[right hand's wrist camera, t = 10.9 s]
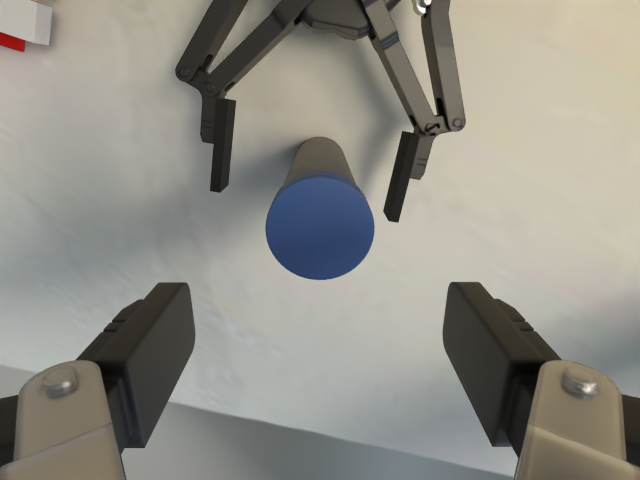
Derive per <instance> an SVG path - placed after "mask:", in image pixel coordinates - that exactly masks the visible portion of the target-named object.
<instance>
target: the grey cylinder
mask: <svg viewBox="0 0 640 480" xmlns="http://www.w3.org/2000/svg"><path fill="white" fill-rule="evenodd" d="M315 170H325V171H331V172H335V173H338V174H341V175H343V176H345V177H346V178H348V179H350V180H351V181H352V182H354V183H355V181H354V178H353V176H352V173H351V171H350V168H349V166H348V163H347V161H346V158H345V156H344V154H343V151H342V149H341V148H340V146H339V145H338V144H337V143H336V142H334V141H333V140H331V139H329V138H325V137H314V138H311V139H309V140H307V141H306V142H304V143H303V144H302V145H301V146H300V148H299V149H298V151H297V153H296V156H295V158H294V161H293V163H292V166H291V168H290V171H289V173H288V176H287V178H286V181H285V183H287V182H288V181H289V180H290V179H292V178H294V177H295V176H297V175H299V174H302V173H305V172H308V171H315ZM285 183H284V184H285ZM355 184H356V183H355Z"/></svg>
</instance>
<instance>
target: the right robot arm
mask: <svg viewBox="0 0 640 480" xmlns="http://www.w3.org/2000/svg"><path fill="white" fill-rule="evenodd" d="M194 343H195V325H194V318H193V310H192V302H191V295H190V289H189V286H188V284H187V283H158V284H157V285H156V286H155V287H154V288H153V289H152V291H151V292H150V293H149V294H148V295H147V296H146V298H145V299H144V300H137V301H136V302H134V303H132V304H130V305H129V306H127V307H125V308H124V309H122V310H121V311H120V312H119V314H118V315H117V316H116V317H115V318H114V319H113V320H112V323H109V324H108V325H107V327H106V328H105V329H104V331H103V332H101V333H100V334H99V335H98V336H97V337H96V338H95V340H94V341H93V342H92V343H91V344H90V345H89V346H88V347H87V348H86V349H85V350H84V351H83V352H82V354H81V355H80V356H79V357H78V358H77V359H76V360H75V361H69V362H64V363H61V364H58V365H55V366H52V367H50V368H47V369H45V370H43V371H41V372H40V373H38V374H36V375H35V376H33V377H32V378H31V379H30V380H28V381H27V382H26V383H25V384H24V386H23V387H22V388H21V390H20V392H19V395H15V396H11V397H6V398H1V399H0V480H126V475H125V471H124V466H123V462H122V458H121V454H122V452H123V450H124V448H145V446H146V444H147V442H148V440H149V438H150V436H151V434H152V432H153V430H154V428H155V426H156V424H157V422H158V420H159V418H160V416H161V414H162V412H163V410H164V408H165V406H166V404H167V402H168V400H169V398H170V396H171V394H172V392H173V390H174V388H175V386H176V384H177V382H178V380H179V378H180V376H181V374H182V372H183V370H184V368H185V366H186V364H187V362H188V360H189V358H190V356H191V354H192V351H193V348H194ZM443 343H444V348H445V351H446V353H447V355H448V357H449V359H450V361H451V363H452V365H453V367H454V369H455V371H456V373H457V375H458V377H459V379H460V381H461V384H462V386H463V388H464V390H465V392H466V394H467V396H468V398H469V400H470V402H471V404H472V406H473V408H474V410H475V412H476V414H477V416H478V418H479V420H480V422H481V424H482V426H483V428H484V430H485V432H486V434H487V436H488V438H489V441H490V443H491V445H492V447H513V449H514V451H515V453H516V455H517V456H518V462H517V466H516V471H515V475H514V480H640V398H636V397H632V396H627V395H622V394H621V392H620V390H619V388H618V387H617V386H616V384H615V383H614V382H613V381H612V380H610V379H609V378H608V377H607V376H605V375H604V374H602V373H600V372H599V371H597V370H595V369H593V368H590V367H588V366H585V365H582V364H579V363H576V362H571V361H564V360H562V359H561V358H560V357H559V356H558V355H557V354H556V353H555V352H554V351H553V350H552V348H551V347H550V346H549V345H548V344H547V343H546V342H545V341H544V340H543V339H542V338H541V336H540V335H539V334H538V333H537V332H536V331H534V329H533V328H532V327H531V326H530V324H529V323H528V322H525V319H524V318H523V317H522V316H521V315H520V314H519V312H518V311H517V310H516V309H515V308H513V307H512V306H510V305H508V304H506V303H505V302H503V301H501V300H500V299H493V298H492V296H491V295H490V294H489V293H488V292H487V291H486V289H485V288H484V287H483V286H482V285H481V284H480V283H479V282H451V283H450V285H449V288H448V293H447V301H446V309H445V316H444V324H443Z"/></svg>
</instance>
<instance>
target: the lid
mask: <svg viewBox="0 0 640 480" xmlns="http://www.w3.org/2000/svg"><path fill="white" fill-rule="evenodd" d="M266 237H267V242H268V245H269V247H270V250H271V251H272V253H273V255H274V256H275V258H276V259H277V260H278V262H279V263H280V264H281V265H282V266H284V267H285V268H286V269H287V270H289V271H290V272H292V273H294V274H296V275H298V276H301V277H304V278H308V279H314V280H326V279H332V278H336V277H339V276H342V275H344V274H346V273H348V272H350V271H351V270H353V269H354V268H355V267H356V266H358V265H359V264H360V263H361V262H362V260H363V259H364V258H365V256H366V255H367V253H368V252H369V249H370V247H371V245H372V242H373V237H374V219H373V215H372V212H371V209H370V207H369V205H368V202H367V200H366V198H365V196H364V194H363V193H362V191H361V190H360V189H359V187H358V186H357V185H356V184H355V183H354V182H352V181H351V180H350V179H348V178H346V177H345V176H343V175H341V174H338V173H335V172H331V171H325V170H315V171H308V172H305V173H302V174H299V175H297V176H295V177H294V178H292V179H290V180H289V181H288V182H287V183H285V184H284V185H283V186H282V187H281V189H280V190H279V191H278V193H277V194H276V196H275V198H274V200H273V202H272V205H271V207H270V209H269V212H268V215H267V219H266Z"/></svg>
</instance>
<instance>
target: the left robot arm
mask: <svg viewBox="0 0 640 480" xmlns="http://www.w3.org/2000/svg"><path fill="white" fill-rule="evenodd" d="M400 1H401V0H282V1H281V2H280V3H279V4H278V5H277V6H276V7H275V8H274V9H273V11H272V13H271V14H270V15H269V16H268V17H267V18H266V19H265V20H264V21H263V22H262V23H261V24H260V25H259V26H258V27H257V28H256V29H255V30H254V31H253V32H252V33H251V34H250V35H249V36H248V37H247V38H246V39H245V40H244V41H243V42H242V43H241V44H240V45H239V46H238V47H237V48H236V49H235V50H234V51H233V52H232V53H231V54H230V55H229V56H228V57H227V58H226V59H225V60H224V61H223V62H222V63H221V64H220V65H219V66H218V67H217V68H216V69H215V70H214V71H213V72H212V73H211V74H209V73H208V72H207V70H208V68H209V67H210V65H211V63H212V62H213V60H214V58H215V56H216V55H217V53H218V51H219V50H220V48H221V46H222V44H223V43H224V41H225V39H226V38H227V36H228V34H229V32H230V31H231V29H232V27H233V26H234V24H235V22H236V20H237V19H238V17H239V15H240V14H241V12H242V10H243V8H244V7H245V5H246V3H247V2H248V0H213V2H212V3H211V5H210V7H209V9H208V11H207V12H206V14H205V16H204V18H203V20H202V21H201V23H200V25H199V27H198V29H197V30H196V32H195V34H194V36H193V37H192V39H191V41H190V43H189V45H188V46H187V48H186V50H185V52H184V54H183V55H182V57H181V59H180V61H179V63H178V64H177V66H176V69H175V72H176V76H177V77H178V79H179V80H181V81H183V82H186V83H188V84H190V85H191V86H193V87H195V88H196V89H198V90H199V92H200V93H201V95H202V116H201V131H200V135H201V138H202V141H203V142H206V143H212V144H214V146H213V159H212V172H211V185H210V191H213V192H219V193H220V192H221V191H222V190H223V189H224V188H225V187H227V186H228V182H229V171H230V160H231V150H232V139H233V128H234V117H235V107H236V101H235V100H229V99H225V95H227V94H226V93H227V92H228V91H229V90H230V89H231V88H232V87H233V86H234V85H235V84H236V83H237V82H238V81H239V80H240V79H241V78H242V77H243V76H245V75H246V74H247V73H248V72H249V71H250V70H251V69H252V68H253V67H254V66H255V65H256V64H257V63H258V62H259V61H260V60H261V59H262V58H263V57H264V56H265V55H266V54H267V53H268V52H270V51H271V50H272V49H273V48H274V47H275V46H276V45H277V44H278V43H279V42H280V41H281V40H282V39H283V38H284V37H285V36H286V35H288V34H289V33H291V32H292V31H293V30H294V29H295V28H296V27H297V26H298V25H299V24H300V23H301V22H302V23H303V24H304V25H305V26H306V27H307V28H308V29H310V30H312V32H313V33H318V34H331V33H335V34H337V35H339V36H341V37H342V38H344V39H349V40H354V41H355V40H356V39H360V38H363V37H365V36H367V35H368V37H369V39H370V41H371V43H372V45H373V47H374V49H375V51H376V52H377V53H378V55H379V57H380V59H381V61H382V63H383V65H384V67H385V69H386V72H387V74H388V76H389V78H390V80H391V82H392V84H393V86H394V88H395V90H396V92H397V94H398V96H399V98H400V100H401V103H402V105H403V107H404V109H405V111H406V113H407V115H408V117H409V119H410V121H411V123H412V125H413V127H414V132H413V133H410V132H405V131H402V135H401V139H400V143H399V148H398V152H397V156H396V160H395V164H394V168H393V173H392V177H391V181H390V185H389V189H388V193H387V198H386V202H385V206H384V210H383V212H384V213H385V215H386V217H387V219H388V221H392V222H398V221H399V218H400V214H401V210H402V206H403V202H404V198H405V194H406V190H407V186H408V182H409V179H410V178H412V179H418V180H420V179H421V177H422V176H423V175H424V172H425V168H426V165H427V160H428V157H429V153H430V150H431V146H432V142H433V140H434V138H435V137H436V136H437V135H439V134H441V133H446V132H452V131H455V132H456V131H460V130H462V129H463V128H464V126H465V122H466V120H465V114H464V108H463V101H462V95H461V89H460V83H459V76H458V70H457V64H456V58H455V52H454V45H453V39H452V33H451V27H450V21H449V14H448V12H449V6H450V0H412V3H413V10H414V12H415V13H416V14H417V15H420V16H421V27H422V35H423V40H424V45H425V51H426V56H427V62H428V67H429V72H430V78H431V83H432V89H433V94H434V100H435V105H436V110H437V115H434V114H433V112H432V110H431V108H430V105H429V103H428V101H427V99H426V97H425V95H424V92H423V90H422V88H421V86H420V84H419V82H418V79H417V77H416V75H415V73H414V71H413V69H412V66H411V64H410V62H409V60H408V58H407V56H406V53H405V51H404V49H403V47H402V45H401V43H400V40H399V36H398V32H397V30H396V27H395V25H394V23H393V21H392V19H391V17H390V14H389V12H390V11H391V10H392V9H393V8H394V7H395V6H396V5H397V4H398V3H399V2H400Z"/></svg>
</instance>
